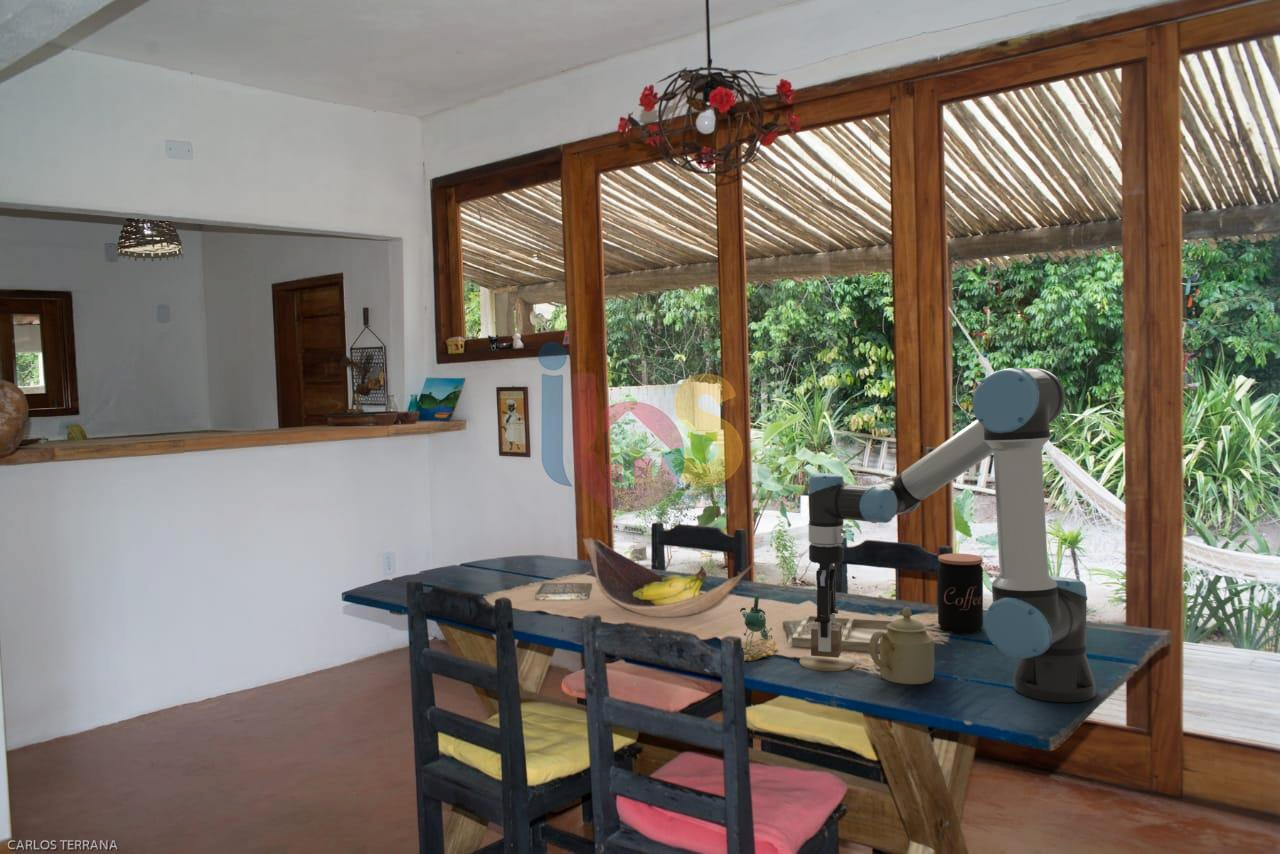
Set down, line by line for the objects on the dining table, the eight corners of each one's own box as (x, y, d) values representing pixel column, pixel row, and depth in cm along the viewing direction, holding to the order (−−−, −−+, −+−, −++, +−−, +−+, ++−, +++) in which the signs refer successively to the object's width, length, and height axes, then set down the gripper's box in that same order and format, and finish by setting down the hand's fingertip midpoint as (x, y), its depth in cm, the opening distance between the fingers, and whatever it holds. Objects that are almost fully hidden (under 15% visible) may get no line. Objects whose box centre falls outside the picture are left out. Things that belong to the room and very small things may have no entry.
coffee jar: (939, 633, 240) (939, 560, 239) (936, 622, 250) (936, 552, 249) (985, 635, 237) (985, 561, 236) (980, 624, 248) (980, 553, 247)
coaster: (851, 673, 209) (851, 671, 209) (795, 668, 213) (795, 666, 213) (857, 657, 220) (857, 655, 220) (804, 653, 224) (804, 651, 224)
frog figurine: (796, 647, 230) (793, 587, 228) (755, 674, 216) (751, 611, 214) (761, 640, 236) (757, 581, 234) (719, 666, 222) (715, 604, 220)
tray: (892, 655, 222) (892, 644, 222) (791, 647, 229) (791, 637, 229) (898, 630, 243) (898, 620, 243) (806, 624, 250) (806, 615, 250)
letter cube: (838, 657, 213) (838, 630, 212) (811, 655, 215) (810, 628, 214) (841, 650, 218) (841, 623, 218) (814, 648, 220) (814, 621, 220)
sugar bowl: (921, 693, 195) (921, 619, 195) (867, 685, 201) (867, 613, 200) (940, 673, 208) (940, 603, 207) (888, 666, 214) (888, 598, 213)
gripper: (838, 552, 205) (838, 660, 206) (848, 537, 223) (848, 637, 224) (802, 550, 207) (803, 657, 209) (815, 536, 225) (815, 634, 227)
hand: (826, 646), depth 217 cm, fingers closed on letter cube, 6 cm apart
